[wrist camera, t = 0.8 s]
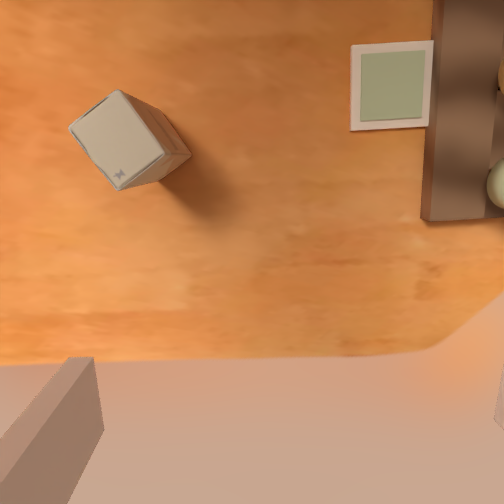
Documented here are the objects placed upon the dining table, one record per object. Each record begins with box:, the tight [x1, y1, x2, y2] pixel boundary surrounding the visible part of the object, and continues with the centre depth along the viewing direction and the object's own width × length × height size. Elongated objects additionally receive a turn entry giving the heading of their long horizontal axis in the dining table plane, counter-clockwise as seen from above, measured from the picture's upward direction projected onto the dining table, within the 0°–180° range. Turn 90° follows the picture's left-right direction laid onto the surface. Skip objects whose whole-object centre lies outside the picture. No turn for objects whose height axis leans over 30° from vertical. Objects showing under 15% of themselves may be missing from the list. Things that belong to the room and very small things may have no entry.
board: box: [420, 0, 504, 222], centre depth 33 cm, size 24×12×2 cm, turn 3°
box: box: [69, 89, 192, 191], centre depth 29 cm, size 5×4×11 cm
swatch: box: [350, 40, 434, 131], centre depth 33 cm, size 7×7×1 cm
